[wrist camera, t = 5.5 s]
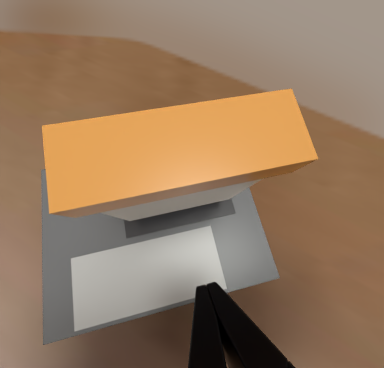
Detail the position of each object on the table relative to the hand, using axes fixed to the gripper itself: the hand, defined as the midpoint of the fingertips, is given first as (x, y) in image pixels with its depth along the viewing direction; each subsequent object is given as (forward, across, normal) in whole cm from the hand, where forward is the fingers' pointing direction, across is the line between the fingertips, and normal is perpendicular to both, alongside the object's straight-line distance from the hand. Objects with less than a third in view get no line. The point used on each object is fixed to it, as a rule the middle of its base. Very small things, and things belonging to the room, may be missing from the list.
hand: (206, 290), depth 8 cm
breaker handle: (+8, 0, 0) cm, 8 cm away
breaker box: (+11, +2, +4) cm, 12 cm away
